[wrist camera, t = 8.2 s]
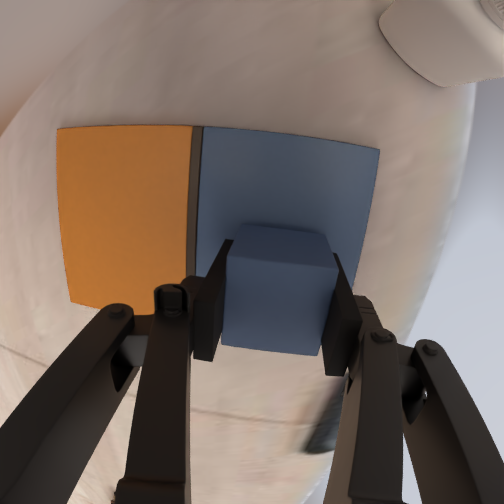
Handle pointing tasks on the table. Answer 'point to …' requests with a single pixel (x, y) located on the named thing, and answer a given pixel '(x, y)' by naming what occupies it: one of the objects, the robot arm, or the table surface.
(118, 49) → the table surface
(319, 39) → the table surface
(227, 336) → the blue block
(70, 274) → the sorting board
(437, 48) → the eye dropper bottle
